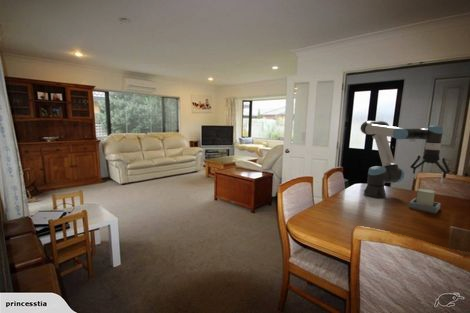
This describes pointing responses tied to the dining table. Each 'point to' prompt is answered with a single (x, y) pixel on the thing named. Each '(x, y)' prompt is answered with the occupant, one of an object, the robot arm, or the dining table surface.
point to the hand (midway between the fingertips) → (427, 180)
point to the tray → (425, 206)
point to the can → (425, 197)
